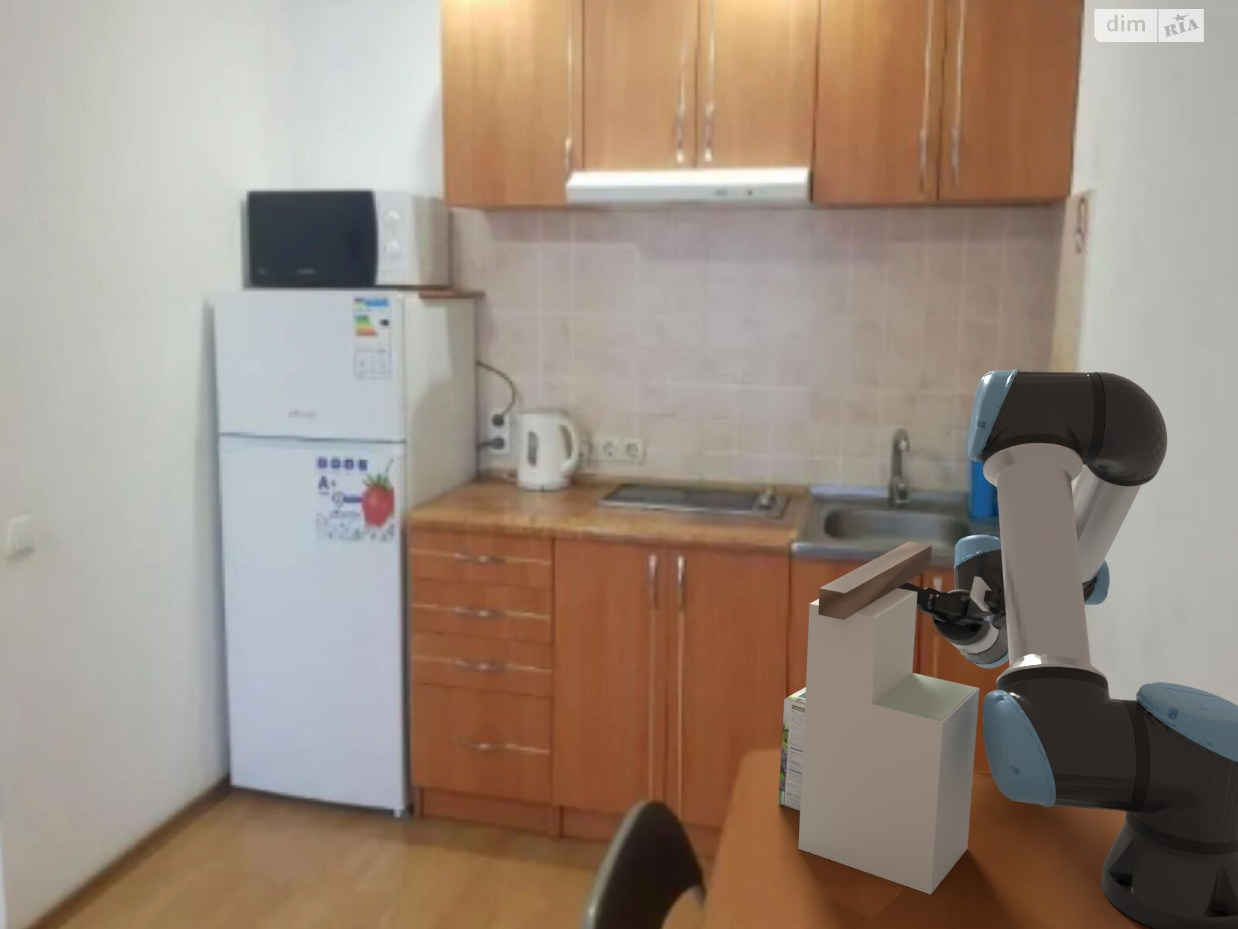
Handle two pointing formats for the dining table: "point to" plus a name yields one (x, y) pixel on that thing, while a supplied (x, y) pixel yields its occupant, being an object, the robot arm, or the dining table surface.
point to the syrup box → (792, 750)
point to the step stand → (884, 749)
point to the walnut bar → (873, 580)
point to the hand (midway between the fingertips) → (922, 577)
